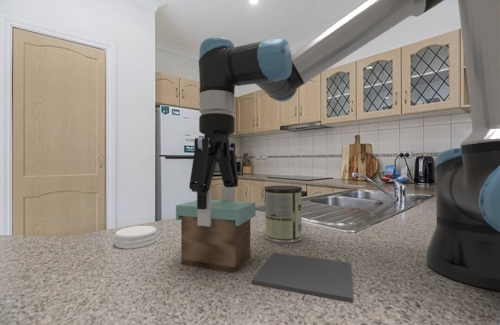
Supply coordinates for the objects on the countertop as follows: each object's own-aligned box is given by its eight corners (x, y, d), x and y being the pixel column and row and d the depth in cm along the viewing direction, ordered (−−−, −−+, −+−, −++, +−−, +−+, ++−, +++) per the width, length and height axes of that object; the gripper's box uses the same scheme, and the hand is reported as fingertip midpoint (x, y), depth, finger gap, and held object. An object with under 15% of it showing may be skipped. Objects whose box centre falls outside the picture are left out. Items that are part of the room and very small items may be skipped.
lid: (255, 215, 54) (255, 202, 54) (238, 226, 45) (238, 209, 45) (201, 211, 59) (201, 199, 59) (175, 220, 50) (175, 205, 50)
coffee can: (265, 231, 74) (265, 185, 74) (300, 232, 73) (299, 185, 73) (264, 242, 64) (264, 188, 64) (304, 243, 63) (304, 188, 63)
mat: (350, 265, 49) (350, 262, 49) (352, 302, 36) (352, 298, 36) (273, 255, 55) (273, 252, 55) (251, 283, 42) (251, 280, 42)
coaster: (136, 236, 70) (136, 224, 70) (164, 239, 67) (164, 226, 67) (105, 247, 61) (105, 233, 61) (136, 251, 58) (136, 237, 58)
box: (250, 256, 54) (250, 211, 54) (234, 272, 46) (234, 219, 46) (203, 249, 58) (203, 208, 58) (181, 263, 50) (181, 215, 50)
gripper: (224, 124, 64) (224, 209, 64) (168, 105, 43) (168, 231, 43) (251, 122, 61) (251, 211, 61) (204, 101, 41) (205, 235, 40)
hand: (217, 219), depth 52 cm, fingers closed on lid, 9 cm apart
